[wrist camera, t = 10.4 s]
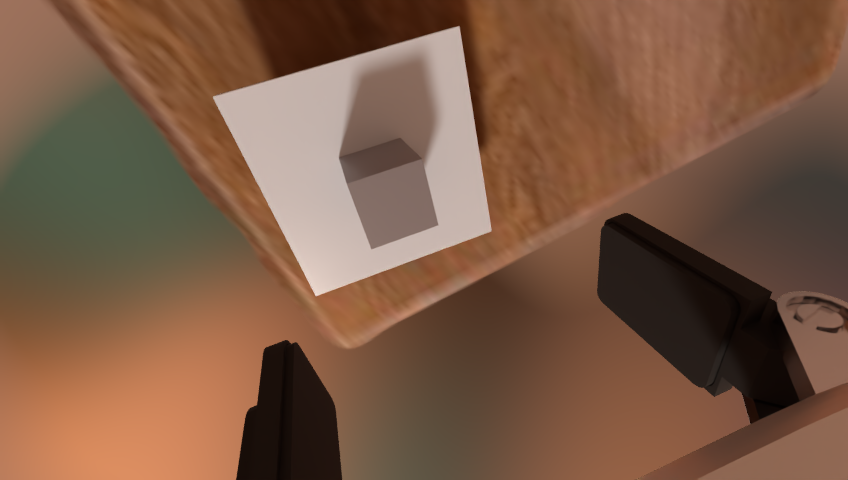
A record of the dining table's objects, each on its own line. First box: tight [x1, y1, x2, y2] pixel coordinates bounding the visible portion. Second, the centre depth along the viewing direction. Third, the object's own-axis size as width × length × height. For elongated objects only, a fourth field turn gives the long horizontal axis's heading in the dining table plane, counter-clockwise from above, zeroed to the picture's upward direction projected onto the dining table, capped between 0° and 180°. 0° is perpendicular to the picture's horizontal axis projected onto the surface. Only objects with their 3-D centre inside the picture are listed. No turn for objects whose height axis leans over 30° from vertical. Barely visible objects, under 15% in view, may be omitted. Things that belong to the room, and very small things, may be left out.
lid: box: [213, 26, 492, 296], centre depth 22 cm, size 14×14×6 cm
